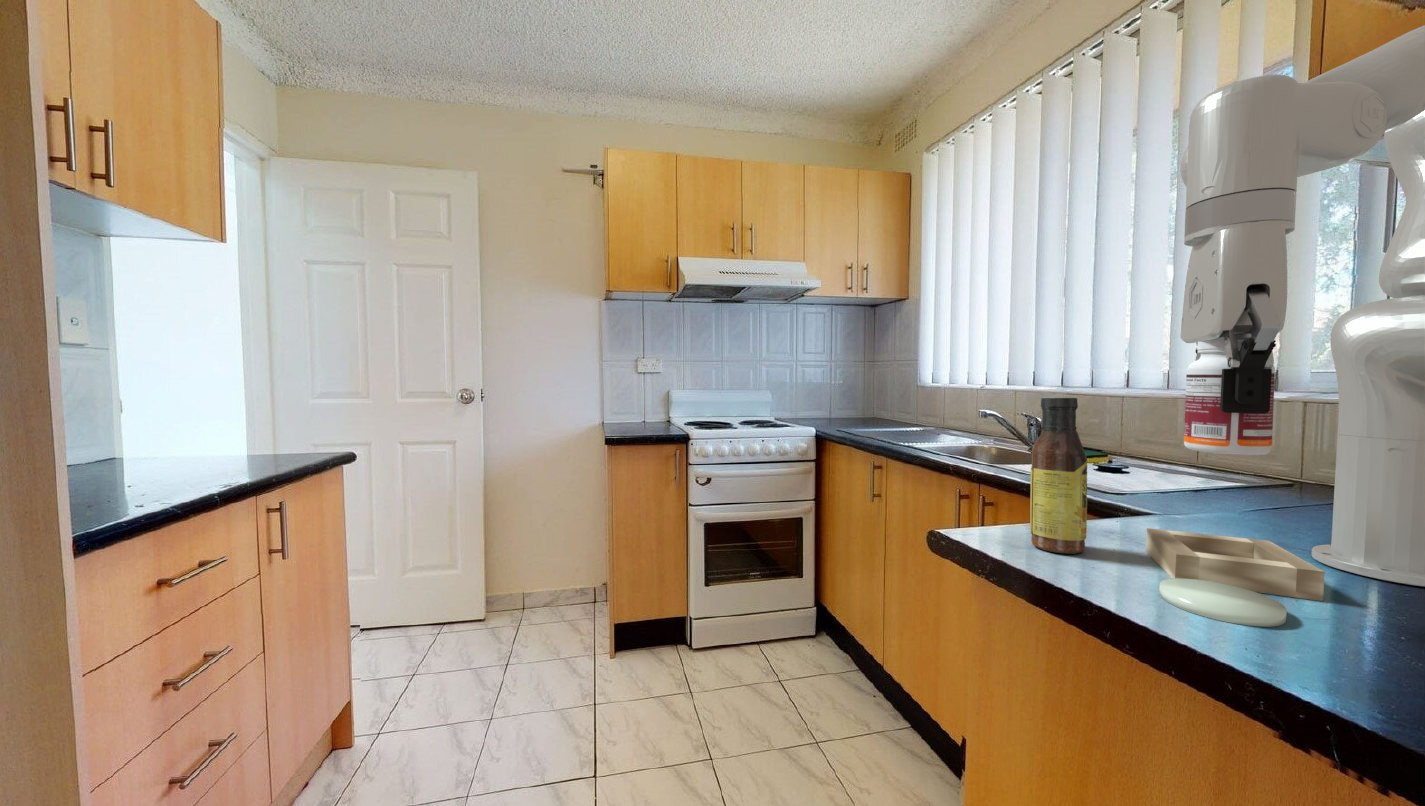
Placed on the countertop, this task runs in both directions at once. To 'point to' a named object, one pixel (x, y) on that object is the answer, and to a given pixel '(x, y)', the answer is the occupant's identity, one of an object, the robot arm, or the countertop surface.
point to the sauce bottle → (1058, 480)
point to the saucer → (1223, 602)
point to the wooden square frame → (1235, 563)
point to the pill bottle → (1205, 417)
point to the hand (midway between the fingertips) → (1228, 409)
